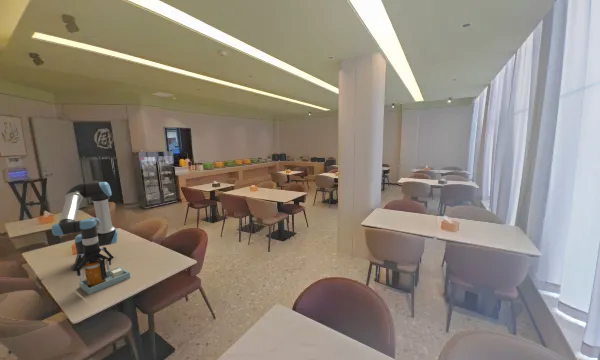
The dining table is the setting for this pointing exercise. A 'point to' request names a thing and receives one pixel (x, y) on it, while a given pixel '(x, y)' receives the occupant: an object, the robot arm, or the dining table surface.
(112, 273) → the cream cube
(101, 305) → the dining table surface
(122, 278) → the teal tray
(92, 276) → the canister
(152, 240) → the dining table surface
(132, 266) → the dining table surface
